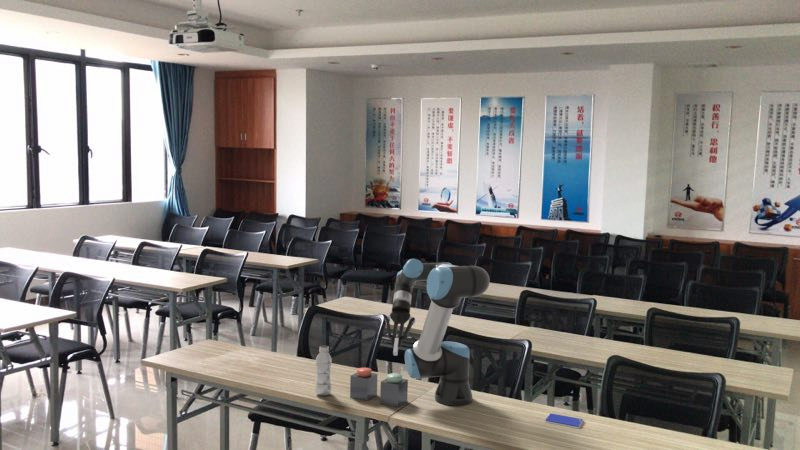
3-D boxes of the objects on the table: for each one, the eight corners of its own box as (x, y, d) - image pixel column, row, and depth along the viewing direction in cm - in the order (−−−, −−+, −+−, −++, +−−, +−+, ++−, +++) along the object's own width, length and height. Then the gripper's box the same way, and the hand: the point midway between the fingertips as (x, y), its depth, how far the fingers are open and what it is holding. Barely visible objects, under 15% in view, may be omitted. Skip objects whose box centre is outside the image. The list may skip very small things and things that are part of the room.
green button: (404, 398, 275) (404, 374, 274) (397, 402, 270) (397, 378, 269) (390, 395, 278) (391, 372, 277) (383, 400, 273) (384, 376, 272)
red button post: (376, 395, 282) (377, 373, 281) (367, 401, 275) (367, 379, 274) (360, 391, 286) (360, 370, 285) (350, 397, 279) (350, 375, 278)
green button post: (407, 401, 276) (407, 379, 275) (398, 407, 269) (398, 385, 268) (389, 397, 279) (390, 376, 279) (380, 403, 272) (380, 381, 272)
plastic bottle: (328, 398, 277) (329, 349, 276) (312, 396, 279) (313, 348, 277) (333, 392, 284) (334, 345, 282) (317, 391, 285) (318, 344, 283)
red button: (373, 392, 282) (374, 369, 281) (366, 396, 276) (366, 372, 275) (361, 389, 284) (361, 366, 284) (353, 393, 279) (354, 370, 278)
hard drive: (583, 418, 260) (550, 412, 265) (578, 425, 252) (545, 419, 258) (583, 422, 260) (550, 416, 265) (578, 429, 252) (545, 423, 258)
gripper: (417, 309, 289) (412, 359, 274) (387, 308, 291) (379, 357, 276) (416, 299, 284) (410, 350, 269) (385, 298, 285) (378, 348, 270)
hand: (395, 353), depth 272 cm, fingers closed
